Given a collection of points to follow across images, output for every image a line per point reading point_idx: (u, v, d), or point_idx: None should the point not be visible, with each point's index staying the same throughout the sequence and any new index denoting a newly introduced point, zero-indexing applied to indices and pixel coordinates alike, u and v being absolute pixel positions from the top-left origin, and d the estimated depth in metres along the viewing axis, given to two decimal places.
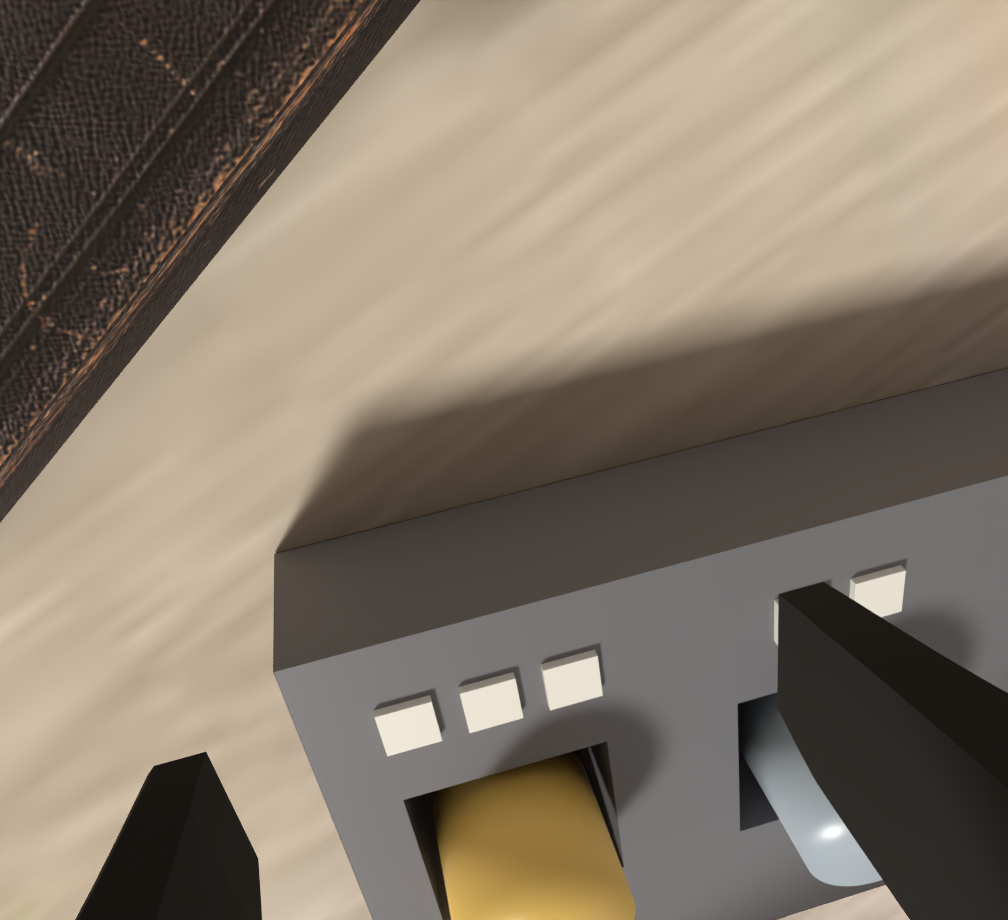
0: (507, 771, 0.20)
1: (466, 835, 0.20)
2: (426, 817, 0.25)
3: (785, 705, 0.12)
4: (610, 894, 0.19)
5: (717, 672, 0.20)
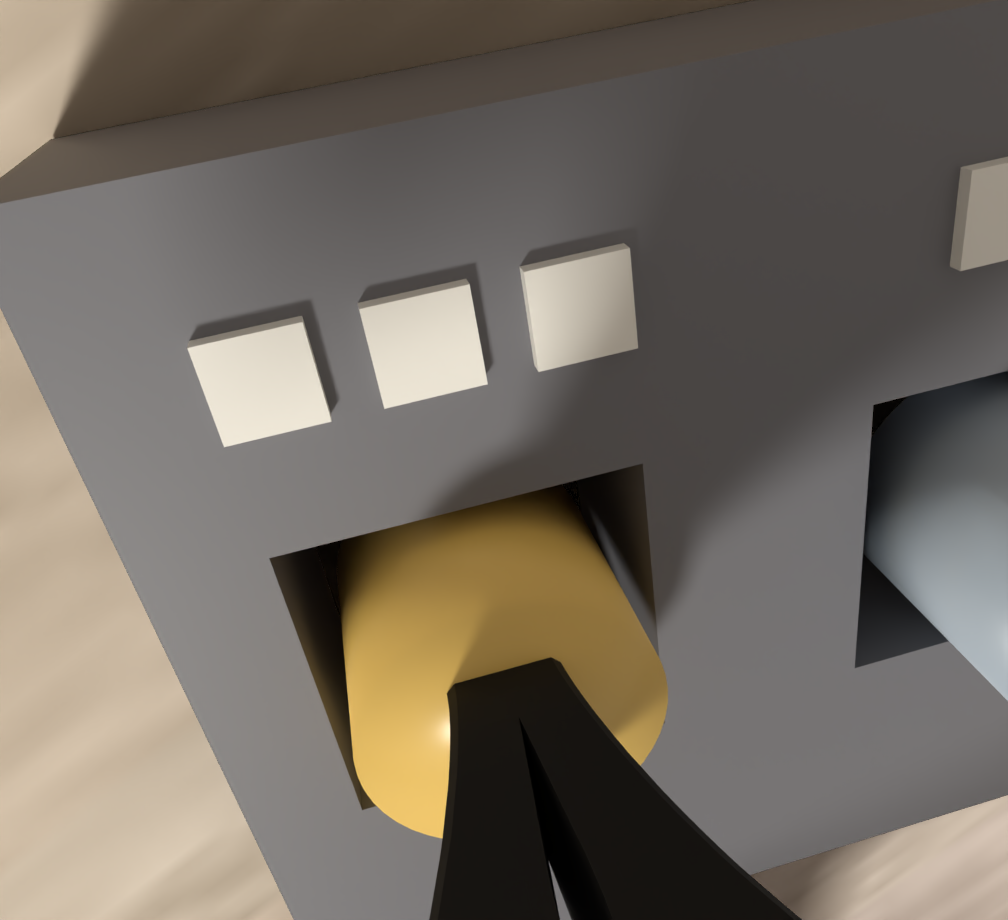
0: None
1: (378, 572, 0.11)
2: None
3: None
4: (624, 658, 0.11)
5: (845, 328, 0.11)
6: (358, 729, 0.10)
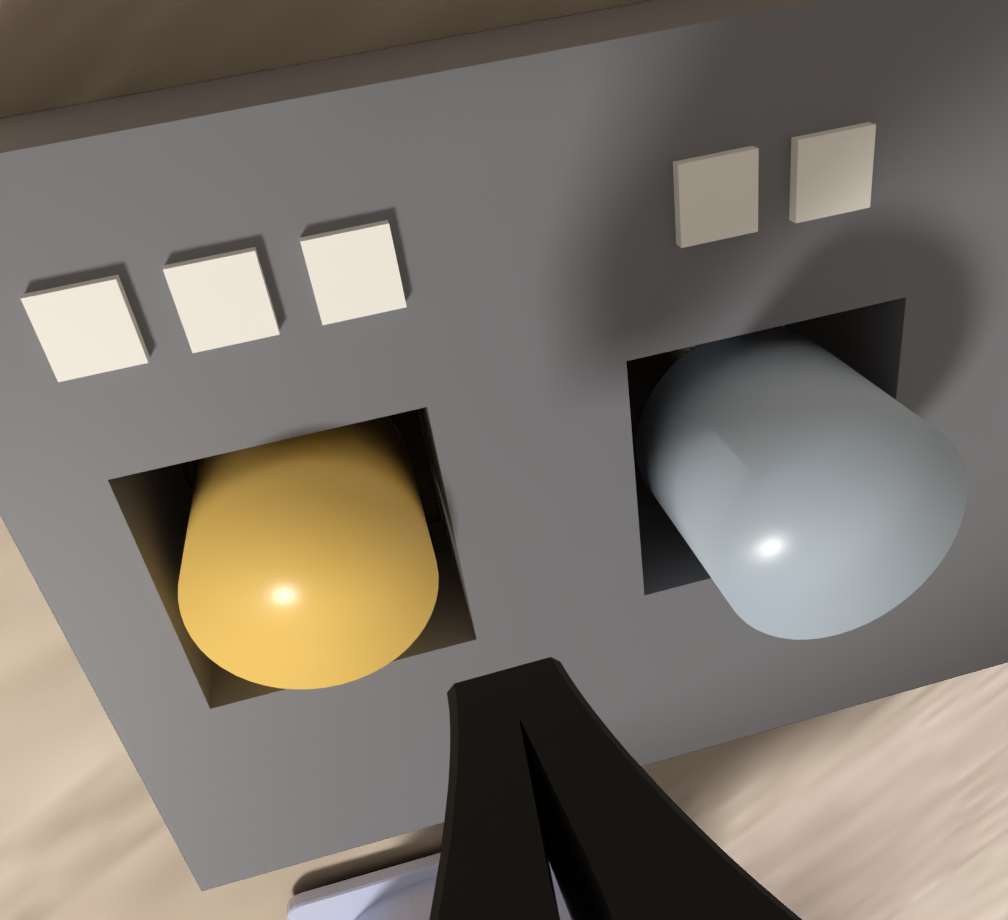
0: None
1: (211, 471, 0.14)
2: None
3: None
4: (396, 534, 0.14)
5: (591, 295, 0.13)
6: (181, 585, 0.13)
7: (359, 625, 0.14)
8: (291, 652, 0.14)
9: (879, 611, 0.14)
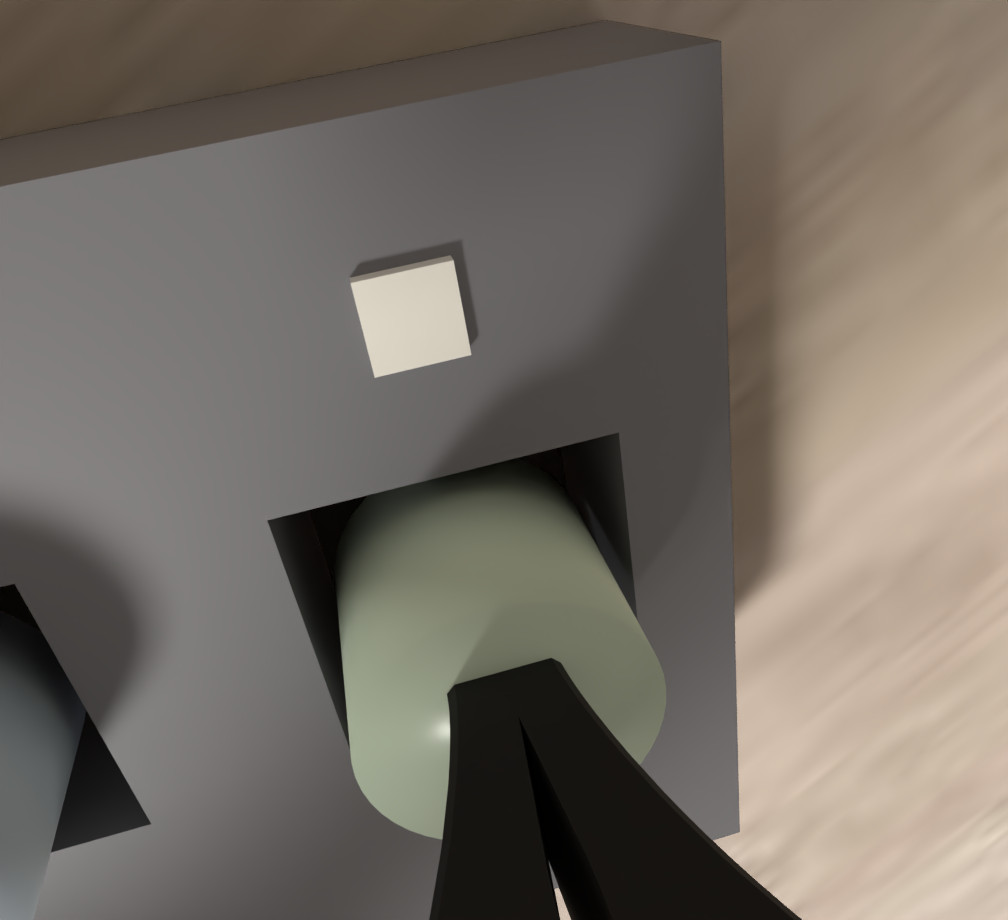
0: None
1: None
2: None
3: None
4: None
5: None
6: None
7: None
8: None
9: None
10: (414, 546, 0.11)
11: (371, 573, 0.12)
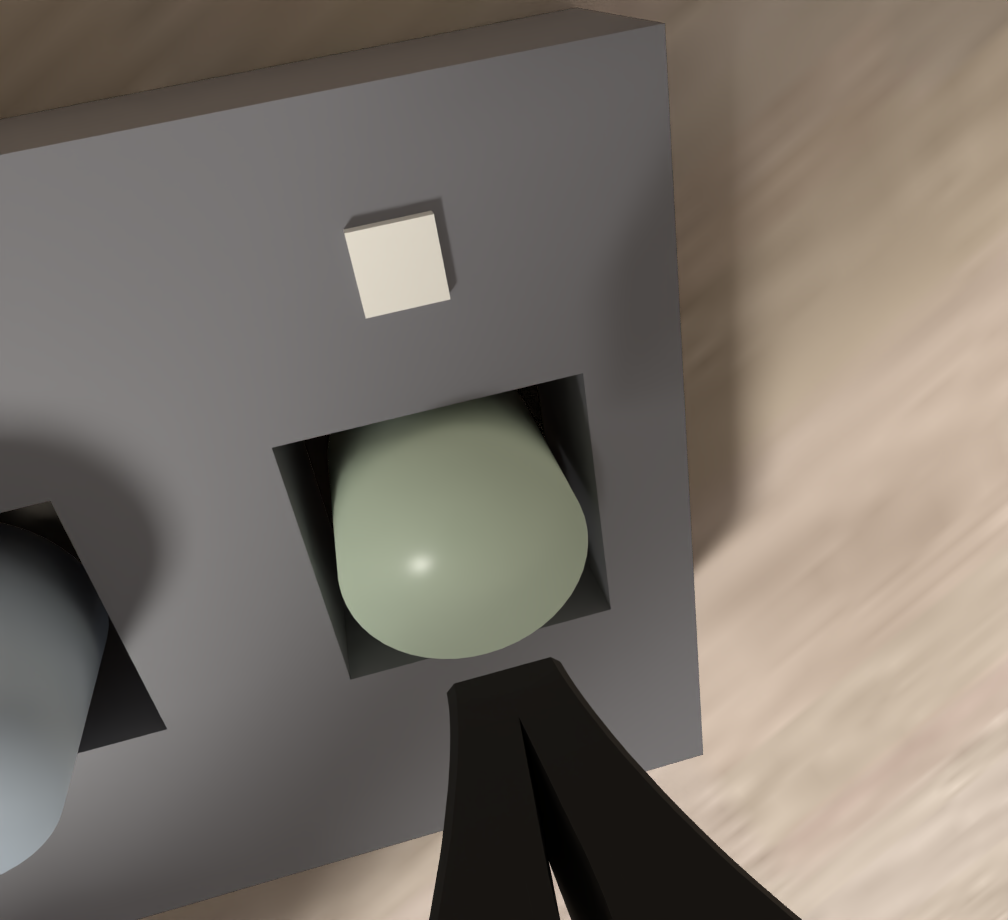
0: None
1: None
2: None
3: None
4: None
5: None
6: None
7: None
8: None
9: (11, 861, 0.12)
10: None
11: (355, 441, 0.15)
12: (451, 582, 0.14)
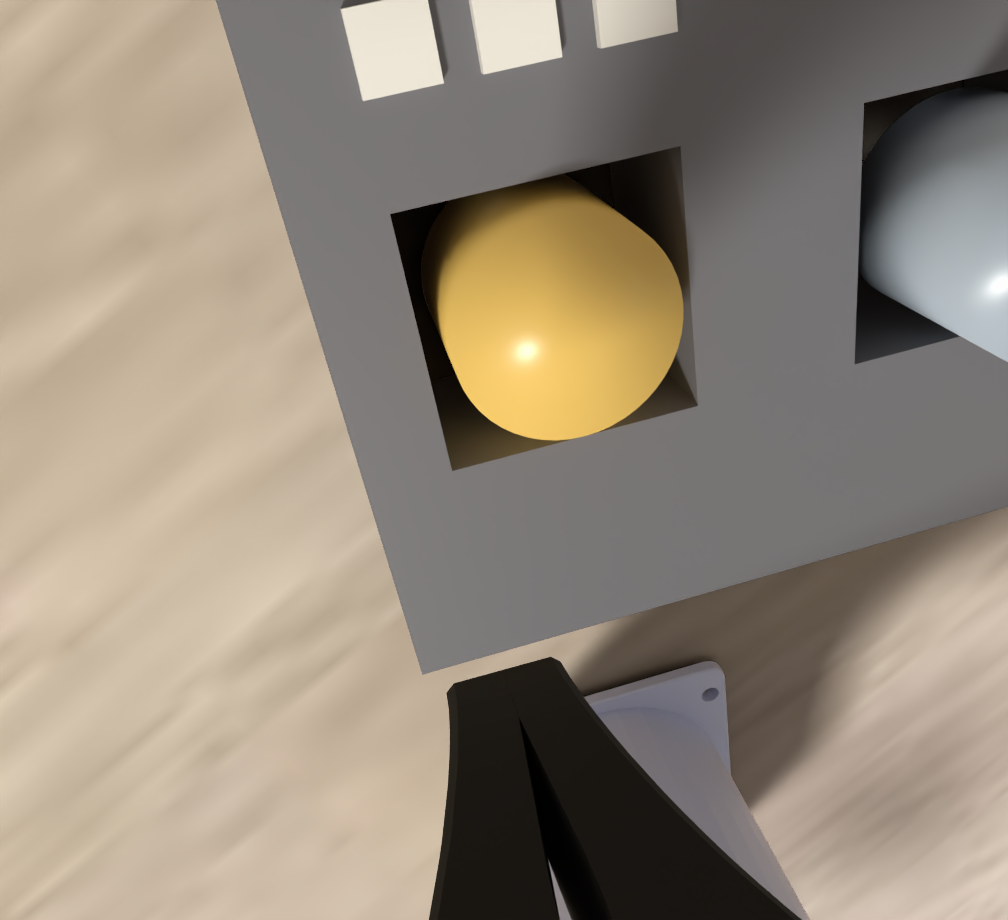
0: None
1: (462, 229, 0.15)
2: None
3: None
4: (651, 272, 0.14)
5: (839, 29, 0.14)
6: (455, 318, 0.14)
7: (607, 371, 0.15)
8: (543, 398, 0.15)
9: None
10: None
11: None
12: None
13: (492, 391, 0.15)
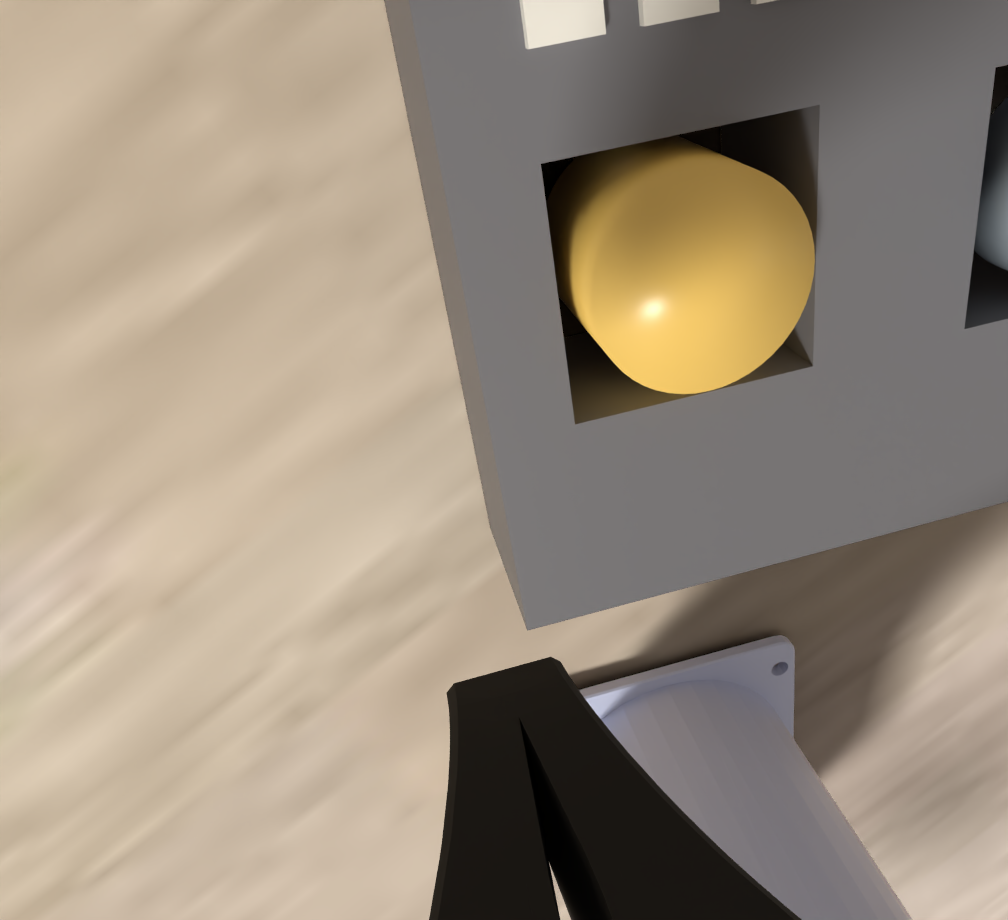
0: None
1: (597, 185, 0.16)
2: None
3: None
4: (787, 227, 0.15)
5: None
6: (599, 267, 0.14)
7: (736, 326, 0.15)
8: (674, 351, 0.15)
9: None
10: None
11: None
12: None
13: (627, 342, 0.15)
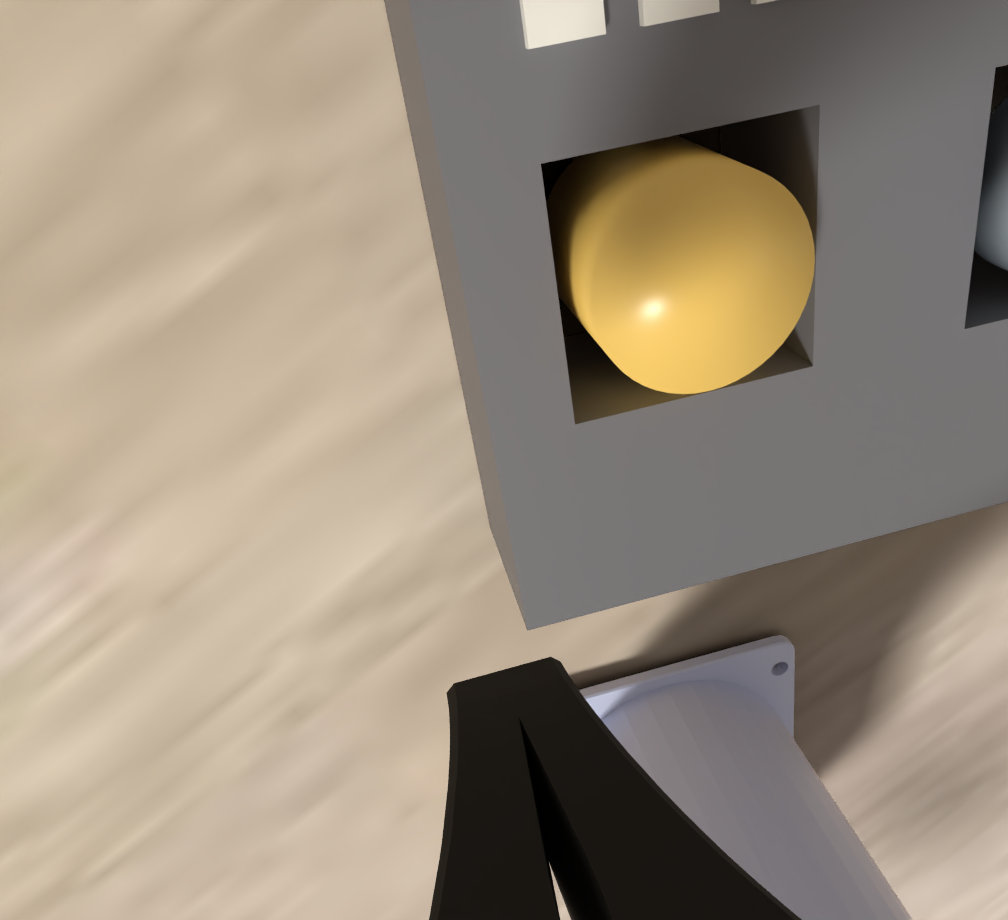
0: None
1: (597, 185, 0.16)
2: None
3: None
4: (787, 227, 0.15)
5: None
6: (599, 267, 0.14)
7: (736, 326, 0.15)
8: (674, 351, 0.15)
9: None
10: None
11: None
12: None
13: (627, 342, 0.15)
